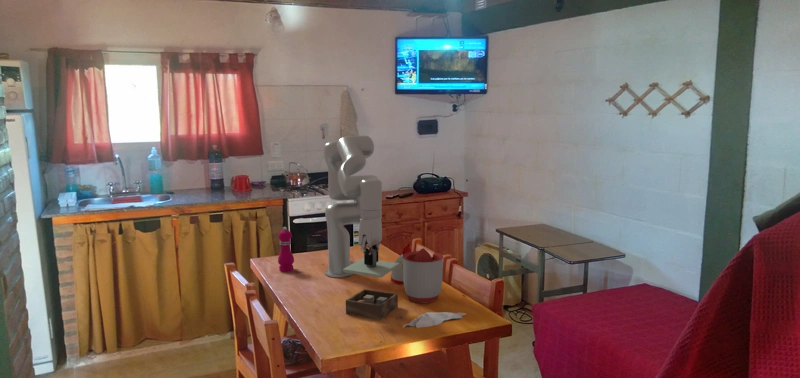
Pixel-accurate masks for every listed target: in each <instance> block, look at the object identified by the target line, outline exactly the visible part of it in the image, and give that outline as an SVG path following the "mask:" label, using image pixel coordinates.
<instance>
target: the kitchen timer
mask: <svg viewBox="0 0 800 378" xmlns="http://www.w3.org/2000/svg"><path fill="white" fill-rule="evenodd" d="M402 248H403V249H402V250H403V251H401V255H399V256H398V257H397V259H396V260H395V261H394V263H399V266H398V267H397V268H395V269H393V270H392V271H390V282H392V283H393V284H395V285H399V286H400V285H401V286H404V280H403V255H404V254H406V253H409V252H412V249H411V247H410V246H409V245H405V246H404V247H402Z"/></svg>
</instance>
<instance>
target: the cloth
mask: <svg viewBox="0 0 800 378" xmlns="http://www.w3.org/2000/svg"><path fill="white" fill-rule="evenodd" d="M465 315H467V313H466V312H450V311H449V312H447V311H445V312H443V311H442V312H441V311H440V312H431V311H430V312H428V311H427V312H425V313H422V314H421V315H419V316H418V317H416V318H414V319H413V320H411V321H410V323H405V324H404V325H403V326H402V329H404V328H405V327H407V326H410V327H416V329H419V328H426V327H427V328H428V327H433V326H438V325H441V324H442V323H444V322H445V321H449V320H450V321H451V320H456V319H463V317H462V316H465Z"/></svg>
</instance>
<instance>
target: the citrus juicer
mask: <svg viewBox="0 0 800 378" xmlns="http://www.w3.org/2000/svg"><path fill="white" fill-rule="evenodd" d="M443 259H444V255H443V254H441V253H439V252H436V251H435V252H434V253H433V254H432V256H431V254H430V253H429V252H428V250H427V249H425V248H424V247H423V248H421V249H420V250H417V251H411V252H409V253H406V254H404V255H403V280H404V285H403V286H404V291H405V294H406V297H407V298H408V300H409V301H411V302H414V303H417V304H418V303H423V304H425V303H426V304H430V303H433V302H436V301H437V300H438V299H439V297H440V294H441V290H442V288H443V287H442V286H443V278H444V277H443V269H444V267H443V264H444V263H443V262H444V260H443Z"/></svg>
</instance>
